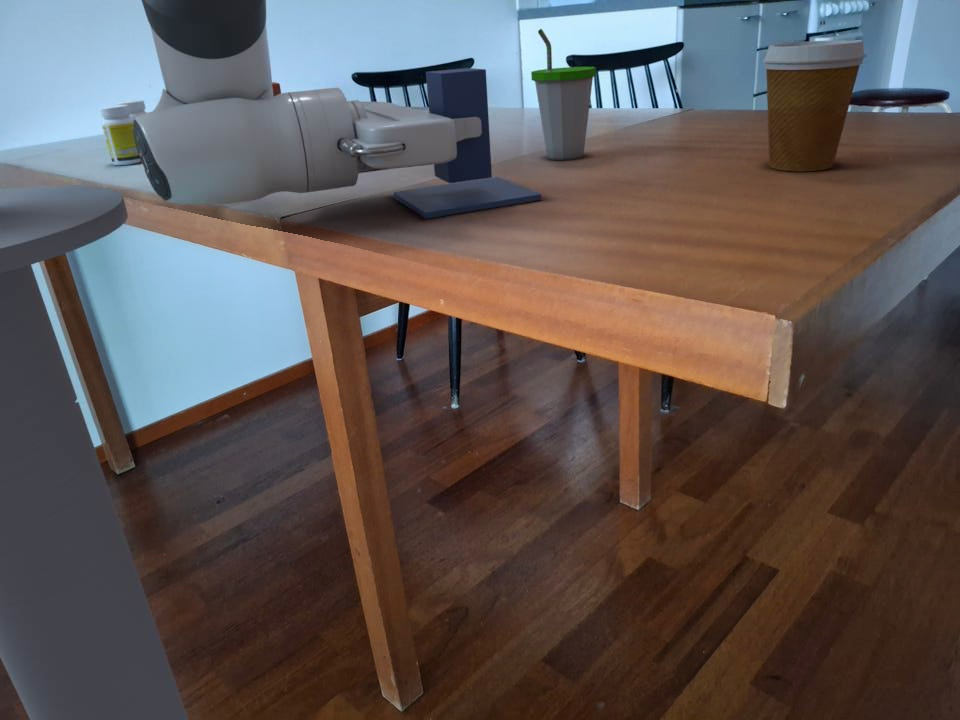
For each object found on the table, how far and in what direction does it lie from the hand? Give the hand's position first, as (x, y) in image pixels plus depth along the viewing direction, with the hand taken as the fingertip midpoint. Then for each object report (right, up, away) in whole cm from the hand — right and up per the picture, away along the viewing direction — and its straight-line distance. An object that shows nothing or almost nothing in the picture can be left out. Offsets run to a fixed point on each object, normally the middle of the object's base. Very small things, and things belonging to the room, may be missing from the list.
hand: (467, 122), depth 71 cm
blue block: (-1, -5, +2) cm, 5 cm away
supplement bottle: (-54, +7, +42) cm, 69 cm away
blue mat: (0, -7, +3) cm, 7 cm away
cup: (+12, +2, +21) cm, 24 cm away
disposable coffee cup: (+35, -3, +6) cm, 36 cm away
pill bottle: (-55, +11, +51) cm, 76 cm away
